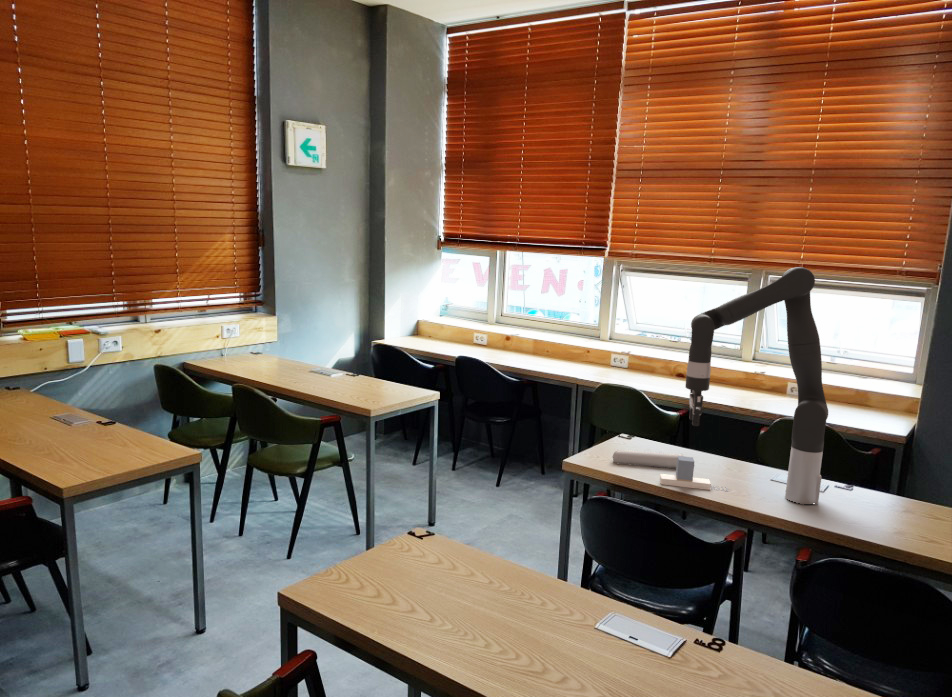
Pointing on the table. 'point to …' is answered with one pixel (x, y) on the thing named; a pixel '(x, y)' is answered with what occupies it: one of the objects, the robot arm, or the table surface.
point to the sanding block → (685, 468)
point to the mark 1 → (714, 488)
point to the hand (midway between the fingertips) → (694, 422)
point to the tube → (646, 458)
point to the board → (685, 482)
